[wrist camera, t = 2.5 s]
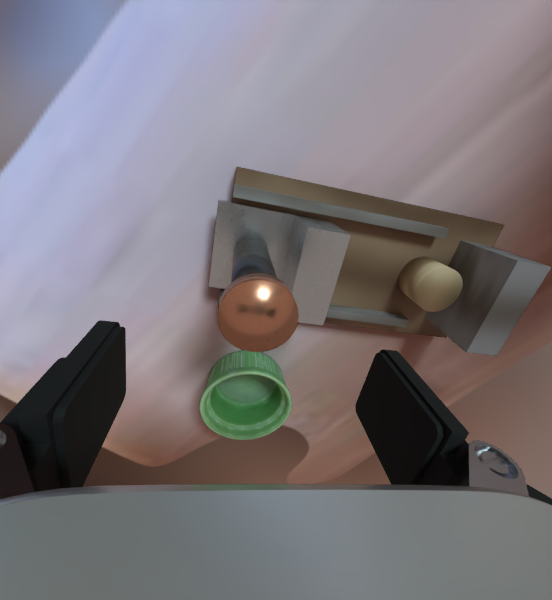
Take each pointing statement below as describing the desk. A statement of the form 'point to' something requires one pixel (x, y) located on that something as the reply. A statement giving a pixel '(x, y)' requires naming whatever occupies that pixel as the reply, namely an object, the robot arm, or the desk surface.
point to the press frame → (398, 252)
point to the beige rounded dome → (430, 283)
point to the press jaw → (272, 273)
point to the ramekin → (245, 396)
